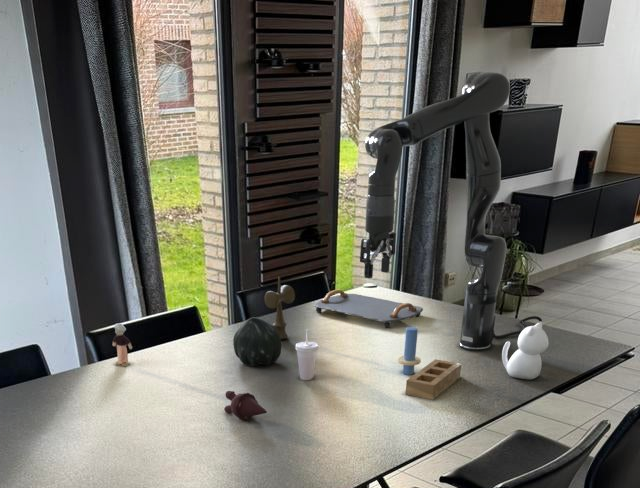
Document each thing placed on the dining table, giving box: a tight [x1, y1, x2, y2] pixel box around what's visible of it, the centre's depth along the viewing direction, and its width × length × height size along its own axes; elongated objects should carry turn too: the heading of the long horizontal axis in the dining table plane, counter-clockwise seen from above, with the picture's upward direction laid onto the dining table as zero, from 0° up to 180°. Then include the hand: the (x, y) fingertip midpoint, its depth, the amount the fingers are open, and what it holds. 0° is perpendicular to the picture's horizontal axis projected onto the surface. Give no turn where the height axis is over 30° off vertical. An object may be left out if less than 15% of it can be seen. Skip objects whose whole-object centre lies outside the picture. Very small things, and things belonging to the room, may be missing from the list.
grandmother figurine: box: [112, 323, 133, 367], centre depth 221 cm, size 8×4×13 cm, turn 68°
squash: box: [232, 316, 283, 367], centre depth 219 cm, size 14×15×15 cm
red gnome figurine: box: [223, 390, 268, 421], centre depth 184 cm, size 7×7×15 cm
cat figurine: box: [501, 321, 550, 381], centre depth 203 cm, size 9×12×15 cm
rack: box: [405, 358, 462, 401], centre depth 201 cm, size 20×8×4 cm, turn 146°
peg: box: [397, 326, 422, 376], centre depth 208 cm, size 6×6×13 cm
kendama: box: [264, 276, 296, 341], centre depth 238 cm, size 6×10×20 cm, turn 141°
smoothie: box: [295, 328, 319, 381], centre depth 206 cm, size 6×6×14 cm
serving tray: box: [313, 289, 424, 329], centre depth 264 cm, size 39×23×6 cm, turn 45°
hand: (376, 274), depth 204 cm, fingers open, 8 cm apart
